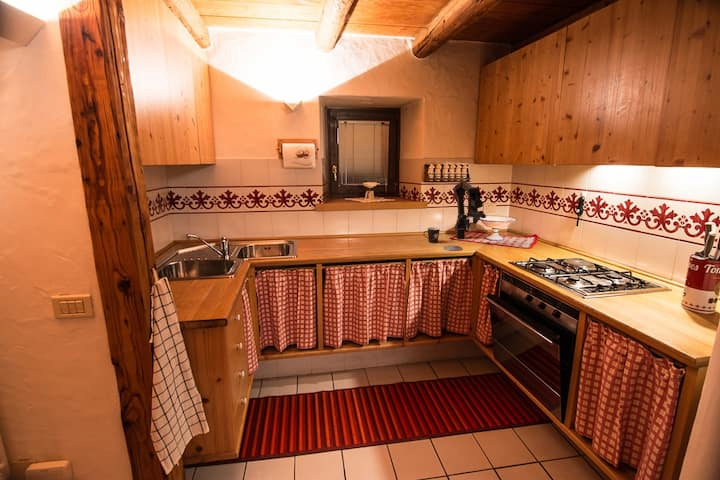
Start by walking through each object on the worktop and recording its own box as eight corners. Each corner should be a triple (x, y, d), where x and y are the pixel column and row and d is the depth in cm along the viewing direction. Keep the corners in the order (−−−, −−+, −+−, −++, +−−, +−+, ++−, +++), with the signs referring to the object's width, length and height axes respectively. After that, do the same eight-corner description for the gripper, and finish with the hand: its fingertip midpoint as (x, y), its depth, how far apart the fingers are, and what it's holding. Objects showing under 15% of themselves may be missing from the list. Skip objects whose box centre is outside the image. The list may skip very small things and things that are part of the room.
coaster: (440, 246, 243) (440, 246, 243) (456, 245, 245) (456, 244, 245) (448, 251, 231) (448, 250, 231) (465, 250, 234) (465, 249, 233)
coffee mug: (438, 240, 259) (439, 227, 257) (439, 243, 251) (440, 229, 249) (422, 240, 261) (422, 227, 258) (423, 243, 252) (423, 229, 250)
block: (466, 229, 249) (466, 222, 248) (471, 229, 250) (471, 222, 249) (470, 231, 243) (471, 224, 242) (475, 230, 244) (476, 223, 243)
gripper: (466, 208, 233) (464, 231, 236) (491, 207, 237) (489, 229, 241) (457, 206, 243) (456, 228, 247) (482, 204, 248) (480, 226, 251)
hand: (470, 228), depth 246 cm, fingers closed on block, 4 cm apart
